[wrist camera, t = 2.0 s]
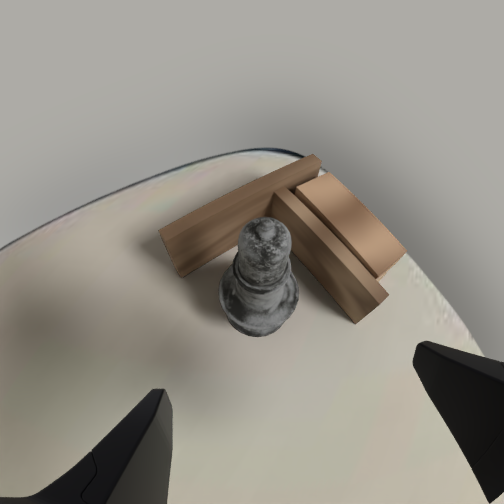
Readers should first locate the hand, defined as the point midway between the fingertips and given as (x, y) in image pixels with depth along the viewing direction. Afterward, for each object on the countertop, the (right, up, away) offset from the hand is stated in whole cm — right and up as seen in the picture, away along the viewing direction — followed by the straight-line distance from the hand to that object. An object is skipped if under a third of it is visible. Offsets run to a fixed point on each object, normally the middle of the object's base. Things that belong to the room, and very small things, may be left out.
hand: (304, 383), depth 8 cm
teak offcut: (+6, +6, +15) cm, 17 cm away
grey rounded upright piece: (-1, 0, +15) cm, 15 cm away
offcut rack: (+2, +2, +16) cm, 16 cm away
